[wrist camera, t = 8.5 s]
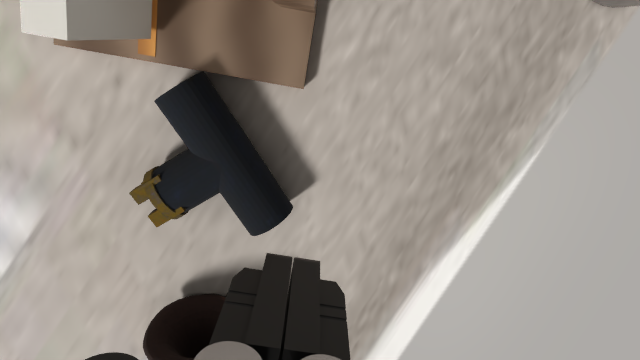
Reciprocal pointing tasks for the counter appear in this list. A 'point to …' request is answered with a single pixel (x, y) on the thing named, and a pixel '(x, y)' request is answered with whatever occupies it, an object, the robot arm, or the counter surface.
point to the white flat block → (87, 19)
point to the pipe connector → (211, 163)
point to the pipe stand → (224, 38)
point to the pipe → (183, 328)
